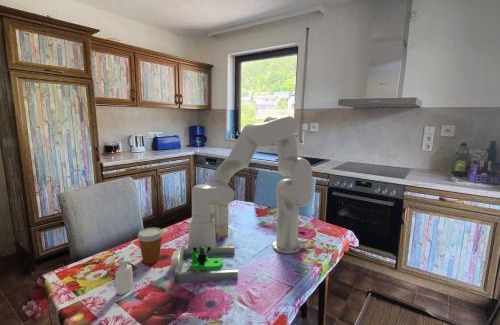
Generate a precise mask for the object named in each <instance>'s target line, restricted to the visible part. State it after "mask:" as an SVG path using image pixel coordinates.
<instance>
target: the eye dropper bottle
mask: <svg viewBox="0 0 500 325" xmlns="http://www.w3.org/2000/svg"><path fill="white" fill-rule="evenodd" d="M118 264H119V265H118V268H117V270H116V271H115V276H114V277H115V292H116V294H117V295H120V296H123V295H124V294H127V293H128V292H129V291H130V290H132V288H133V286H134V278H133V267H132V265H131V264H128V259H127V258H125V255H122V256H121V259H119V261H118Z"/></svg>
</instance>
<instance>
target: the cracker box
mask: <svg viewBox="0 0 500 325" xmlns="http://www.w3.org/2000/svg"><path fill="white" fill-rule="evenodd" d="M212 213H213V214H216V218H213V219H214V222H215V236H216V238H218V239H219V238H225V237H229V236H228V235H229V204H226V205H216V204H212Z"/></svg>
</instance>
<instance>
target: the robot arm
mask: <svg viewBox="0 0 500 325" xmlns="http://www.w3.org/2000/svg"><path fill="white" fill-rule="evenodd" d="M297 128H298V122H297V120H296V119H295V118H294V117H293V116H292V115H279V114H278V115H270V116H268V117H266V118H265V119H264V121H263V122H262V123H249V124H246V125H244V127H243V129H242V130H241V131H240V134H239V135H238V138H237V140H235V141H236V142H235V143H234V145H233V147H232V149H231V151H230V152H229V155H228V156H227V157H226V158H225V159H224V160H223V161H222V162H221V163H220V164H219V165H218V167H217V168H216V169H215V171H214V172H213V174H212V176H211V178H210V180H209V182H208V184H204V183H203V184H196V185H194V186H193V187H192V189H191V219H190V221H189V226H188V240H187V241H188V242H187V244H188V246H187V248H188V249H190V250H194V251H195V252H196V253H197V254H198V261H200V265H201V264H204V261H206V254H207V252H208V251H209V250H210V249H215V248H216V247H217V243H216V238H217V237H216V236H215V222H214V219H213V218H216V214H213V213H212V204H216V205H226V204H228V205H229V204H231V203H232V202H233V200H234V199H235V192H234V190H233V188H232V187H231V186H229V185H228V183H229V182H230V180H231V178H232V177H233V176H234V175H235V174H236V173H238V172H239V171H241V170H244V169H245V168H247V167H248V166H249V164H250V162H251V161H252V159H253V156H254V155H255V153H256V151H257V149H258V147H259V148H261V147H262V148H263V147H269V146H271V145H274V144H276V148H277V168H278V172H279V173H280V175H282V176H284V177H286V178H283V179H281V180H279V181H278V182H277V184H276V187H275V195H276V204H277V207H276V208H277V210H276V211H277V212H276V234H275V235H276V238H275V241H273V242H272V248H273V249H274V250H275V251H276V252H278V253H281V254H286V255H291V254H292V255H293V254H297V253H298V252H300V251H301V247H302V246H301V245H308V244H309V241H308V239H304V238H302V237H299V236H298V234H299V232H298V231H299V215H300V214H299V213H300V210H299V207H300V208H301V207H303V208H304V207H307V205H309V204H310V202H311V200H312V198H313V170H312V169H313V168H312V165H311V163H310V162H309V160H308V159H306V158H304V157H300V156H299V152H298V142H297V138H296V136H295V134H296V132H297ZM200 247H204V250H203V252H202V251H201V248H200Z"/></svg>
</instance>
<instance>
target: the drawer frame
mask: <svg viewBox="0 0 500 325" xmlns="http://www.w3.org/2000/svg"><path fill="white" fill-rule="evenodd" d="M235 248H236V247H235V246H234V245H233V246H232V245H231V246H216V248H215V249H210V250H209V251H208V252H207V256H220V255H235ZM192 251H193V250H190V249H188V247H186V245H182V246H181V249H180V251H173V253H172V256H171V258H170V260H171V261H170V264H171V266H170V267H171V269H170V270H171V272H172V273H174V283H175V284H178V283H179V284H180V283H197V282H198V283H200V282H213V281H214V282H215V281H216V282H217V281H233V280H234V281H235V280H238V279H239V272H238V271H239V270H238V269H229V270H205V271H192V272H191V271H190V272H189V271H188V272H187V271H186V272H182V270H183V266H184V262H185V257H192Z"/></svg>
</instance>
